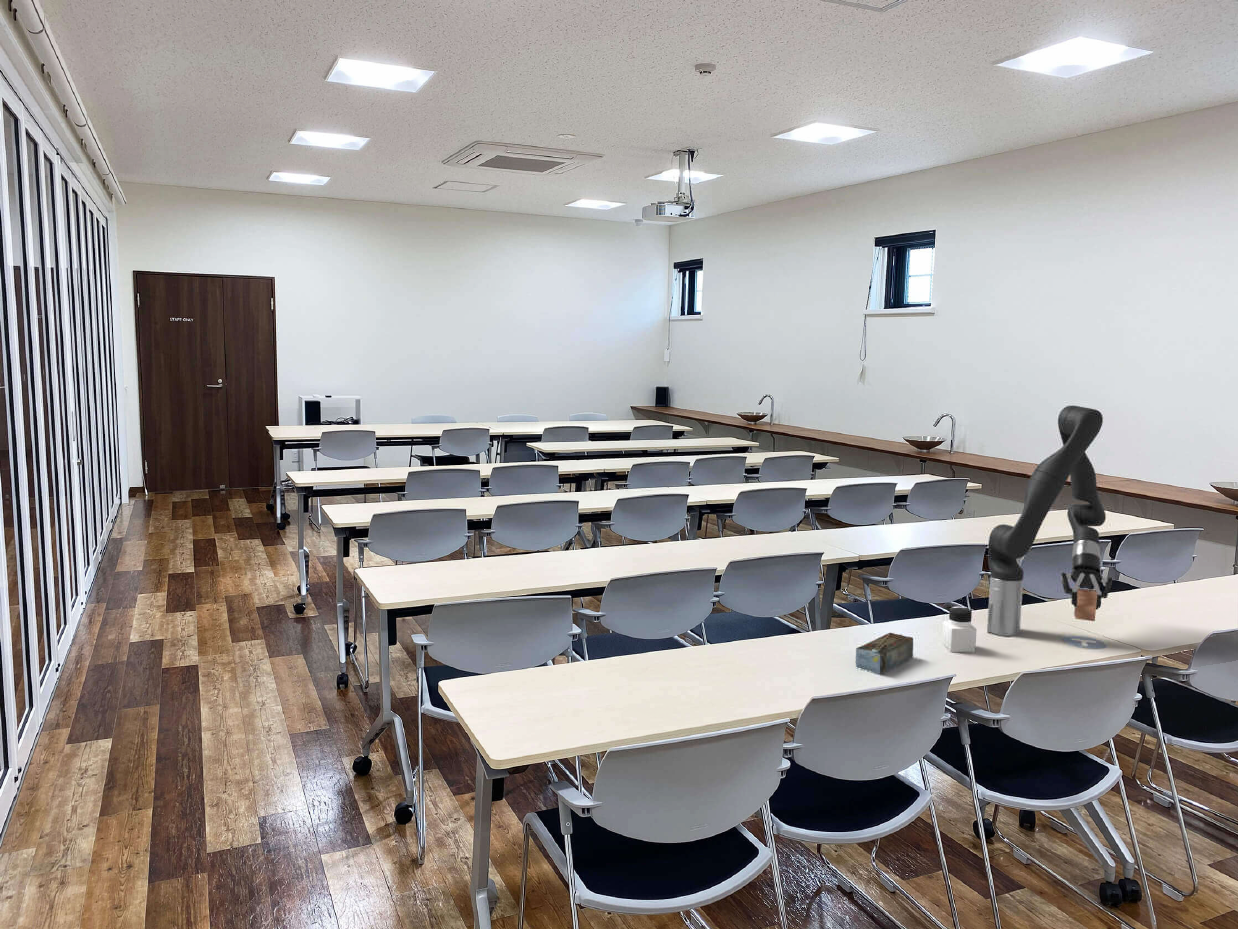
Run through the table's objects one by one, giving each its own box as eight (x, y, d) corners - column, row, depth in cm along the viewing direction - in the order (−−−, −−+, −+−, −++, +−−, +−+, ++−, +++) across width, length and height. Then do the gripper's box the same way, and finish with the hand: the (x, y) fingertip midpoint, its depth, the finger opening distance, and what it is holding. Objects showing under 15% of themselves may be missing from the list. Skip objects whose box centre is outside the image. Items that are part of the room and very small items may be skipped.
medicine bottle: (975, 652, 251) (977, 612, 249) (950, 652, 251) (952, 612, 250) (966, 644, 258) (968, 605, 257) (941, 644, 258) (944, 604, 257)
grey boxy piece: (853, 668, 238) (854, 645, 238) (888, 652, 252) (889, 630, 251) (880, 676, 233) (881, 652, 232) (914, 659, 246) (915, 636, 245)
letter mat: (1062, 646, 257) (1062, 645, 257) (1060, 634, 268) (1060, 633, 268) (1109, 652, 252) (1109, 651, 252) (1104, 640, 263) (1104, 639, 263)
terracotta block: (1075, 618, 258) (1078, 592, 257) (1074, 614, 262) (1076, 588, 261) (1094, 621, 256) (1097, 594, 255) (1092, 616, 260) (1095, 590, 259)
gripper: (1061, 549, 266) (1060, 597, 257) (1114, 554, 261) (1116, 603, 251) (1058, 562, 272) (1057, 610, 262) (1111, 568, 266) (1111, 616, 257)
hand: (1086, 606), depth 257 cm, fingers closed on terracotta block, 5 cm apart
